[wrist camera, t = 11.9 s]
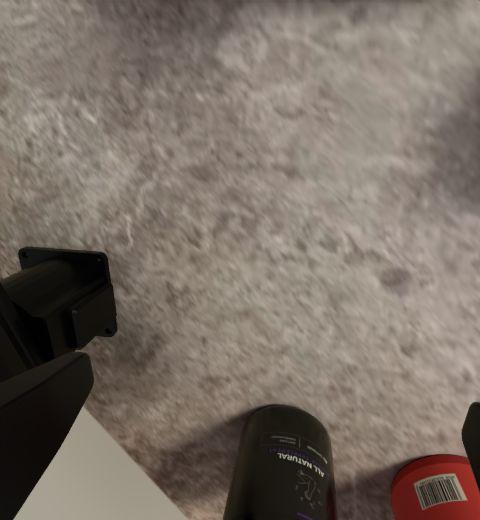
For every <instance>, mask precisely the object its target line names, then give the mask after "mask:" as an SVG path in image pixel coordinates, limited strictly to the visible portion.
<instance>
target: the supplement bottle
mask: <svg viewBox="0 0 480 520" xmlns="http://www.w3.org/2000/svg"><path fill="white" fill-rule="evenodd" d="M223 520H338V513H337V502H336V491H335V480H334V468H333V457H332V448H331V442H330V438H329V435H328V433H327V431H326V429H325V428H324V426H323V425H322V424H321V423H320V422H319V421H318V420H317V419H316V418H315V417H314V416H312V415H311V414H309V413H308V412H306V411H304V410H301V409H299V408H296V407H292V406H285V405H275V406H269V407H265V408H263V409H260V410H258V411H257V412H255V413H254V414H252V415H251V416H250V417H249V418H248V420H247V421H246V423H245V424H244V426H243V429H242V433H241V437H240V441H239V446H238V450H237V455H236V460H235V464H234V469H233V474H232V478H231V483H230V487H229V492H228V497H227V501H226V506H225V511H224V515H223Z"/></svg>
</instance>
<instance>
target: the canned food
mask: <svg viewBox="0 0 480 520" xmlns="http://www.w3.org/2000/svg"><path fill="white" fill-rule="evenodd" d="M391 505H392V510H393V514H394V518H395V520H480V493H479V490H478V487H477V484H476V481H475V478H474V475H473V471H472V468H471V465H470V462H469V459H468V458H466V457H461V456H455V455H437V456H430V457H425V458H422V459H419V460H417V461H414V462H412V463H410V464H409V465H407V466H405V467H404V468H403V469H402V470H401V471H400V472H399V473H398V474H397V475H396V477H395V478H394V481H393V483H392V489H391Z"/></svg>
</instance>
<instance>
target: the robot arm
mask: <svg viewBox="0 0 480 520" xmlns="http://www.w3.org/2000/svg"><path fill="white" fill-rule="evenodd" d="M26 253H27V254H28V255H27V254H26ZM18 255H19V259H20V263H21V267H22V271H19V272H17V273H15V274H13V275H11V276H9V277H7V278H5V279H3V280H1V281H0V520H13V519H14V518H15V516H16V515H17V513H18V511H19V510H20V508H21V507H22V505H23V504H24V502H25V501H26V499H27V497H28V496H29V495H30V493H31V492H32V490H33V489H34V487H35V485H36V484H37V482H38V481H39V479H40V478H41V476H42V475H43V473H44V472H45V470H46V469H47V467H48V466H49V464H50V463H51V461H52V459H53V458H54V456H55V455H56V453H57V452H58V450H59V448H60V447H61V445H62V443H63V441H64V440H65V438H66V436H67V434H68V433H69V431H70V429H71V427H72V425H73V423H74V421H75V419H76V418H77V416H78V414H79V412H80V410H81V408H82V406H83V404H84V403H85V401H86V399H87V397H88V395H89V393H90V391H91V389H92V387H93V383H94V377H93V371H92V365H91V360H90V356H89V355H88V354H87V353H82V352H75V351H76V350H81V349H83V348H84V347H85V346H86V345H87V344H88V343H89V342H90V341H91V340H92V339H93V338H94V337H95V336H103V337H112V336H114V335H115V334H116V332H117V322H116V315H117V314H116V307H115V299H114V292H113V285H112V283H111V279H110V272H109V264H108V258H107V256H106V255H105V254H104V253H103V252H96V251H82V250H68V249H54V248H40V247H24V248H21V249H20V250H19V252H18ZM97 258H100V259H101V262H99V261H98V259H97ZM108 328H109V329H110V330H111V331H110V330H109V329H108ZM462 441H463V444H464V447H465V450H466V453H467V456H468V459H469V462H470V465H471V468H472V471H473V475H474V478H475V481H476V484H477V487H478V490H479V493H480V402H473V403H472V404H471V405H470V407H469V410H468V413H467V416H466V419H465V422H464V425H463V428H462Z"/></svg>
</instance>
